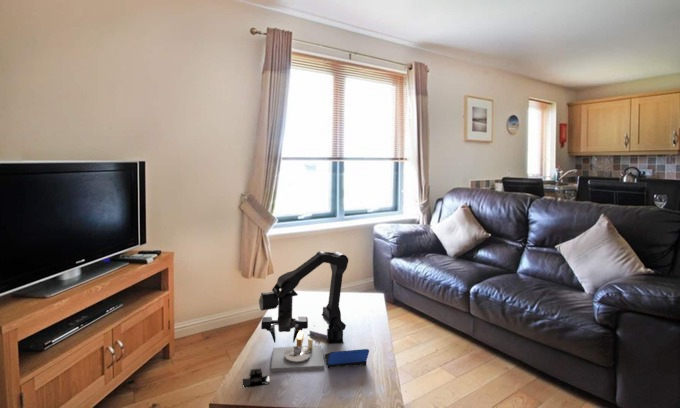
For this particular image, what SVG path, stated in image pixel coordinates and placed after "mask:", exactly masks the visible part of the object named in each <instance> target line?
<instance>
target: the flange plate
mask: <svg viewBox="0 0 680 408" xmlns="http://www.w3.org/2000/svg"><path fill="white" fill-rule="evenodd" d="M303 342H304V331H299V332H298V334H297V336H296V345H295V346H294V345H293V346H289V347H290V348H288V349H287V350H286V351H285V353H284V357H285V359H286V360H287V361H289V362H292V363H301V362H304V361H307V360H308V359H309V358H310V356H311V351H310V350H309V349H308V348H306V347H303V346H304V345H303Z"/></svg>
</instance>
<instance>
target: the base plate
mask: <svg viewBox="0 0 680 408" xmlns="http://www.w3.org/2000/svg"><path fill="white" fill-rule="evenodd" d="M307 342H308V343H307V345H302V346H303V347H306V348H308V349H309V350H310V351H311V356H310V358H309V359H308V360H307V361H304V362H301V363H292V362H289V361H287V360H286V359H285V357H284V353H285V351H286V350H287V349H288V348H290V347H291V346H284V347H283V346H281V347H272V357H271V363H270V364H271V367H270V372H271V373H278V372H280V373H281V372H300V371H317V370H325V364H324V362H325V361H324V357H323V350H322V345H314V344H313V338H308V340H307Z"/></svg>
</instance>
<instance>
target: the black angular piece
mask: <svg viewBox="0 0 680 408" xmlns="http://www.w3.org/2000/svg"><path fill="white" fill-rule="evenodd" d="M270 384H271V382H270V375H263V370H262V368H255V369H253V368H252V369H250V372H249V377H247V378H243V379H242V386H243V385H244V387H245V388H244V389H247V388H246V387H248V388H254V387H261V386H267V385H268V386H270Z"/></svg>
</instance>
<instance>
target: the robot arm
mask: <svg viewBox="0 0 680 408" xmlns="http://www.w3.org/2000/svg"><path fill="white" fill-rule="evenodd" d="M325 263H326V264H329V265H330V269H331V278H330V287H329V295H328V301H327V305H326V306H323V307H322V314H321V316H322V318H323V321H325V323H326V324H327V326H328V328H327V329H326V338H327V342H328V343H329V344H344V330H346V327H347V325H346V323H344V322H343V321H342V313H341V309H340V299H341V290H342V285H343V284H342V283H343V275H344V274H345V272H346V270H347V268H348V264H349V257H347V255H346V254H344V253H341V252H340V251H334V252H332V251H331V252H330V251H321V250H319V251H317V252H316V254H315V255H313V256H312V257H310V258H308V260H306V261H304V262H303V263H302V264H301V265H299V266H298V267H297V268H295V269H294V270H291V271H287V272H285V273H284V274H282V275H280V276H278V278H277V280H276V283H275V284H274V286H273V287H272V289H271V291H269V292H261V293H260V297H259V299H258V304H259V310H260V311H268V310H275V309H276V308H277V319H273V317H272V316H263V317H262V319H261V325H260V328H261V330H266V331H268V332H269V333H270V335H271V336H272V337H271V338H272V340H273V343H274V344H275V343H276V340H277V339H276V326H278V327H277V329H278V332H279V333H282V332H283V333H284V332H285V333H289V332H291V331H292V330H291V329H294V331H293V335H292V336H293V338H292V342H293V343H295V342H296V340H297V336H298V333H299V332H301V331H303V330H304V329H305V330H306V329H308V327H309V326H308V325H309V319H308V317H307V316H298V317H297V318H294V317H293V301H294V300H293V298H294V297H296V296H298V295H299V294H298V293H297V292H296V291H295V289H296V288H297V286H298V285H299V284H300V282H301V281H302V280H303V279H304V278H305V277H307V276H308V275H309V274H311V273H312V272H313V271H314V270H316V269H317V268H318V267H320V266H321V265H323V264H325Z"/></svg>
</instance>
